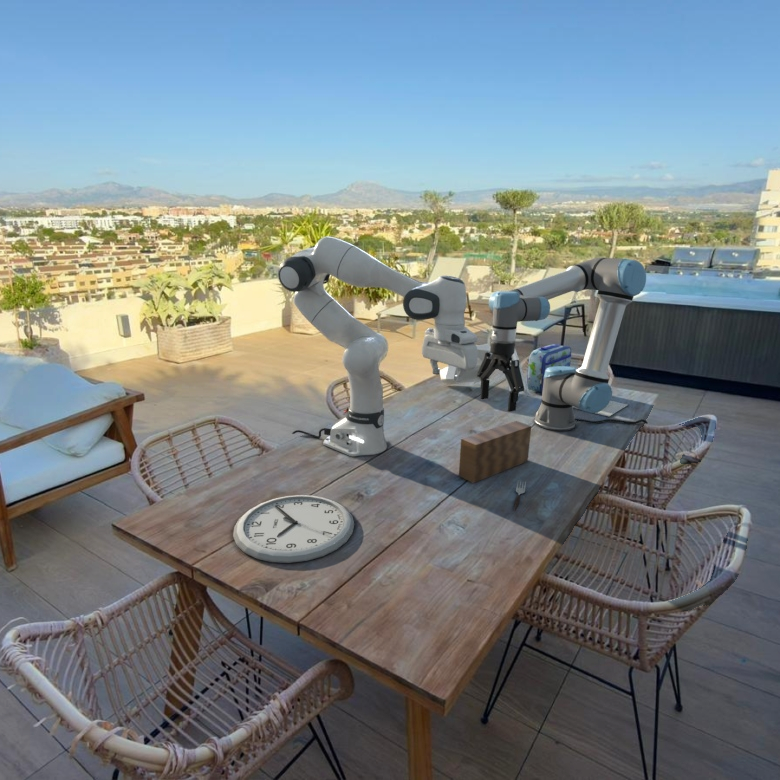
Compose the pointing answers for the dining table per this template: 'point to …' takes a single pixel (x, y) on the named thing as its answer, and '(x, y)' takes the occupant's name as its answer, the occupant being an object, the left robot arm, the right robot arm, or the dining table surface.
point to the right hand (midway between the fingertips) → (497, 404)
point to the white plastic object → (476, 370)
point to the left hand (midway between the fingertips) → (446, 377)
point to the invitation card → (611, 408)
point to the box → (494, 451)
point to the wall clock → (293, 529)
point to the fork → (519, 491)
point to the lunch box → (546, 363)
